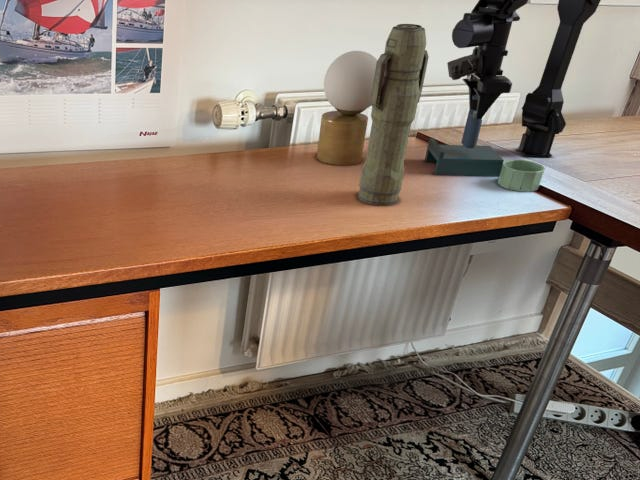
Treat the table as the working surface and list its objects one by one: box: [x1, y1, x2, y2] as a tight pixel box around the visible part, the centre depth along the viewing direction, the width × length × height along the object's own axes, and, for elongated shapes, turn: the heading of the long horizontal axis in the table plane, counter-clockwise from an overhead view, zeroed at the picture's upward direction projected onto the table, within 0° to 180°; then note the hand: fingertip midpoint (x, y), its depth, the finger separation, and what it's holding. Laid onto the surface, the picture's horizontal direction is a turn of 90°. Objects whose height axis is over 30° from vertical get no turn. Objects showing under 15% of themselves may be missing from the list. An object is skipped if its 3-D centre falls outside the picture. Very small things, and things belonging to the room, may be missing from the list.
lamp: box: [316, 50, 378, 166], centre depth 172 cm, size 15×14×25 cm
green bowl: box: [497, 159, 546, 193], centre depth 160 cm, size 9×9×4 cm
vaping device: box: [460, 93, 483, 148], centre depth 164 cm, size 3×5×12 cm, turn 175°
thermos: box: [357, 23, 430, 206], centre depth 145 cm, size 9×12×35 cm
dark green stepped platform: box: [424, 138, 505, 177], centre depth 169 cm, size 15×11×6 cm
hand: (475, 115), depth 164 cm, fingers closed on vaping device, 5 cm apart
